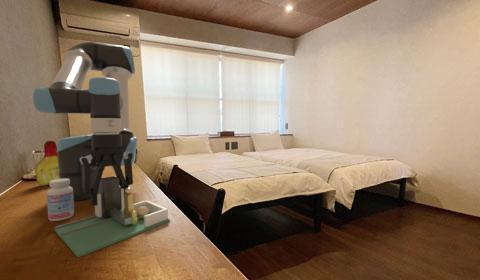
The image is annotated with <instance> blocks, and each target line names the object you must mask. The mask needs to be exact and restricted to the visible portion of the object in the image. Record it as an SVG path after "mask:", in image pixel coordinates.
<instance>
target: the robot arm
mask: <svg viewBox="0 0 480 280" xmlns="http://www.w3.org/2000/svg"><path fill="white" fill-rule="evenodd" d="M62 59H63V63H62V65H61V67H60V68H59V70H58V72H57V73H56V76H55V77H54V79H53V81H52V82H51V84H50V86H38V87H35V88H34V90H33V91H32V101H33V105H34V108H35V109H36V110H37V111H38V112H40V113H45V114H46V113H47V114H54V115H56V114H80V115H81V114H83V115H85V114H87V115H88V114H89V115H90V116H89V119H90V132H91V133H92V134H84V135H76V136H75V135H74V136H68V137H61V138H60V139H58V141H57V142H56V146H57V155H58V169H59V179H70V184H69V186H71V187H72V188H73V200H74V202H78V201H84V200H89V199H90V205H91V206H93V207H94V215H96V216H97V217H102V209H101V194H100V193H99V185H100V181H101V178H103V173H104V171H105V169H106V167H112V169H113V170H114V171H113V172H114V174H115V177H117V178H119V191H120V210H122V211H123V210H124V209H123V208H125V194H126V193H125V190H126V188H129V186H131V185H133V184H134V177H133V164H134V163H135V159H136V156H137V155H136V154H137V145H138V137H137V136H134V132H133V131H132V130H131V129H130V115H129V114H130V111H129V80H130V79H131V78H132V75H133V74H135V72H136V69H135V61H134V57H133V51H132V49H131V48H130V46H129V47H128V46H124V45H121V44H119V45H118V44H111V43H110V44H109V43H104V42H103V43H102V42H96V41H85V42H80V43H77V44H75V45H73V46H70V47H69V48H68V49H67V50H66V51H65V52H64V55H63V58H62ZM91 71H96V72H97V71H98V72H101V75H102V76H103V77H102V76H97V77H91V78H89V80H88V89H85V88H83V84H84V82H85V80H86V77H87V73H89V72H91ZM82 88H83V89H82ZM122 167H124V172H123V169H122Z"/></svg>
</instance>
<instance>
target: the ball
mask: <svg viewBox="0 0 480 280" xmlns="http://www.w3.org/2000/svg"><path fill="white" fill-rule="evenodd" d="M136 211H137V218H138V219H144V216H145V215H148V214H149V209H148V208H147V207H145V206H141V207H139V208H137V210H136Z"/></svg>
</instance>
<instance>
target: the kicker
mask: <svg viewBox="0 0 480 280" xmlns="http://www.w3.org/2000/svg"><path fill="white" fill-rule="evenodd" d="M119 187H120V185H119V178H117V177H116V176H113V175H112V176H106V177H102V178H101V181H100V185H99V193H100V194H101V209H102V217H103V218H104V219H108V218H111V217H112V218H114V219H115V220H117V221H119V222H120V223H122V224H123V225H128V224H131V225H134V224H137V211H135V210H134V204H135V203H134V202H135V201H134V193H133V188H132V187H129V186H128V188H126V190H125V193H126V194H125V198H124V208H123V209H124V213H123V212H121V211H120V191H119Z"/></svg>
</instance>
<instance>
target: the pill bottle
mask: <svg viewBox="0 0 480 280" xmlns="http://www.w3.org/2000/svg"><path fill="white" fill-rule="evenodd" d="M69 184H70V179H56V180H52V181H50V182H49V187H50V188H49V189H48V190H47V191H46V202H47V218H48V220H49V221H50V222H60V221H64V220H67V219H68V220H69V219H70V218H72V217H73V216H74V214H75V207H74V206H75V204H74V203H75V201H74V200H73V188H72V187H71V186H69Z"/></svg>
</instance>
